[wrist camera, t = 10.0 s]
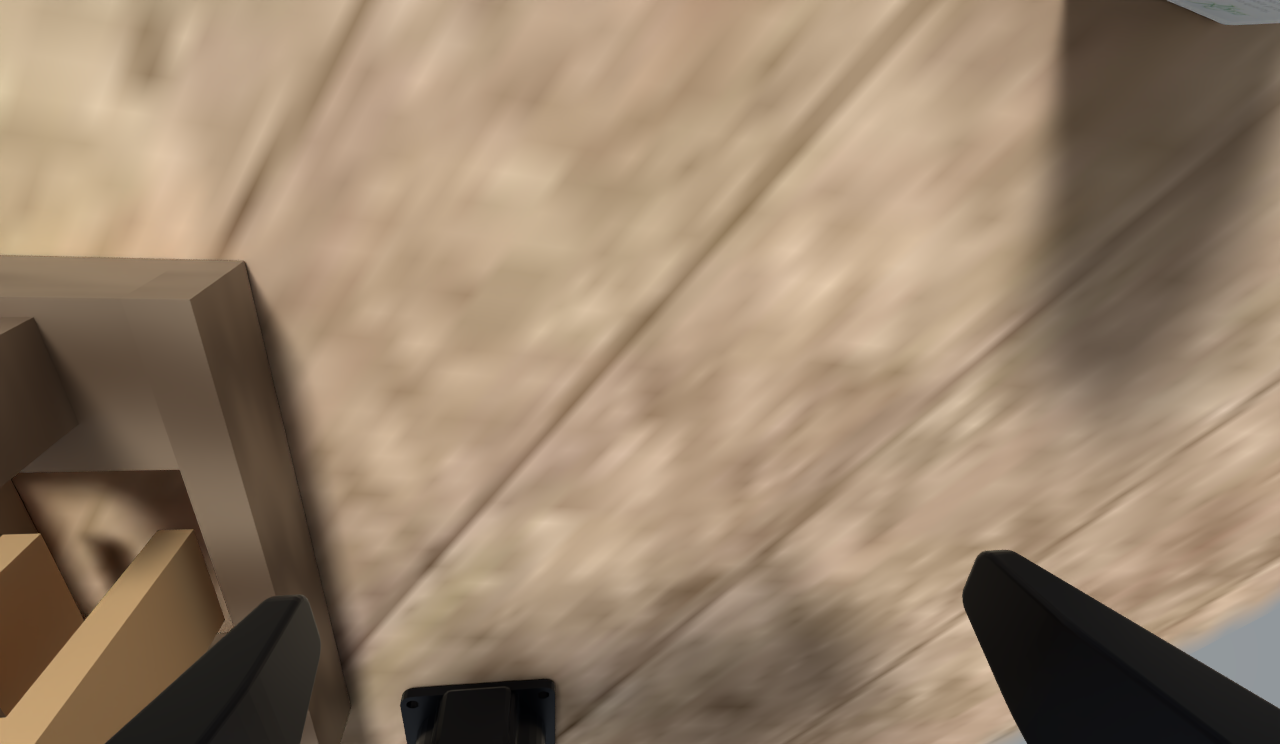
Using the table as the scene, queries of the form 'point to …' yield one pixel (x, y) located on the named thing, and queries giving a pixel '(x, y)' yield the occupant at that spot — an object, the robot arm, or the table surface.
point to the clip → (97, 639)
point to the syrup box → (1235, 10)
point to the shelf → (164, 418)
